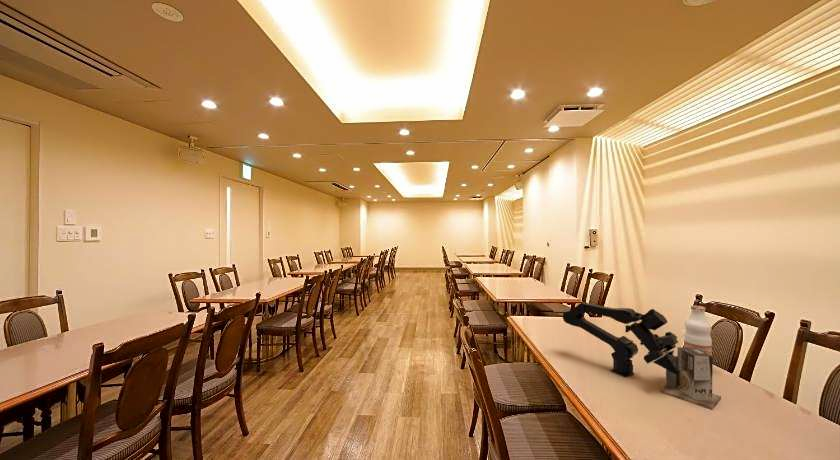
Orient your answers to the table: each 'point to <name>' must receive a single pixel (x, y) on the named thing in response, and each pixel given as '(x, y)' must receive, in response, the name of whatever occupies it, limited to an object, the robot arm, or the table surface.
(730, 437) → the table surface
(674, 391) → the pull board
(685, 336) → the fruit juice
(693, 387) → the coffee box
